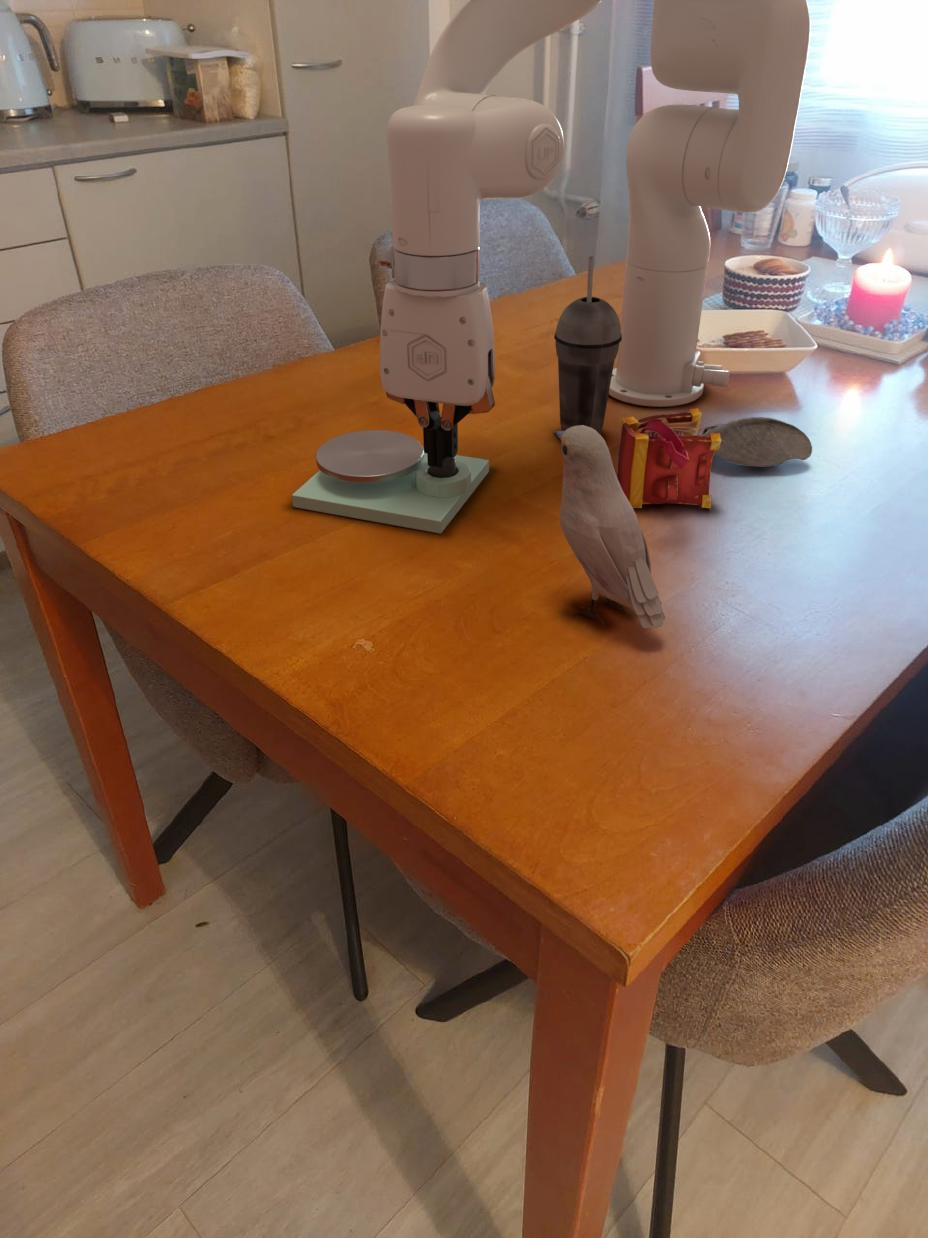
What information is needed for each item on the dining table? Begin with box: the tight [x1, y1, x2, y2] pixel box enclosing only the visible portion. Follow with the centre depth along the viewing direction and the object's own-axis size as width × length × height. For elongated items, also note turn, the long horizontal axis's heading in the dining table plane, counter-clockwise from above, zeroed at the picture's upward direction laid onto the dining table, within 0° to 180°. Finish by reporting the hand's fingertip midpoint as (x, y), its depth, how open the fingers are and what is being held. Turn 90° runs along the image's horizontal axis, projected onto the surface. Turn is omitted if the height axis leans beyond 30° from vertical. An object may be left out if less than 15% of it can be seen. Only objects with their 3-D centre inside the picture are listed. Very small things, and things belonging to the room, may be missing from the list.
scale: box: [291, 453, 490, 535], centre depth 92 cm, size 16×14×3 cm
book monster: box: [616, 408, 721, 509], centre depth 86 cm, size 11×9×12 cm
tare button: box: [430, 458, 456, 478], centre depth 89 cm, size 3×3×2 cm
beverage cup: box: [553, 255, 622, 436], centre depth 97 cm, size 7×7×20 cm
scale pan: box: [315, 429, 424, 483], centre depth 91 cm, size 11×11×1 cm
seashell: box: [700, 416, 813, 468], centre depth 96 cm, size 12×8×5 cm
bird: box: [552, 425, 666, 629], centre depth 70 cm, size 5×14×15 cm, turn 36°
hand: (441, 461), depth 88 cm, fingers closed
